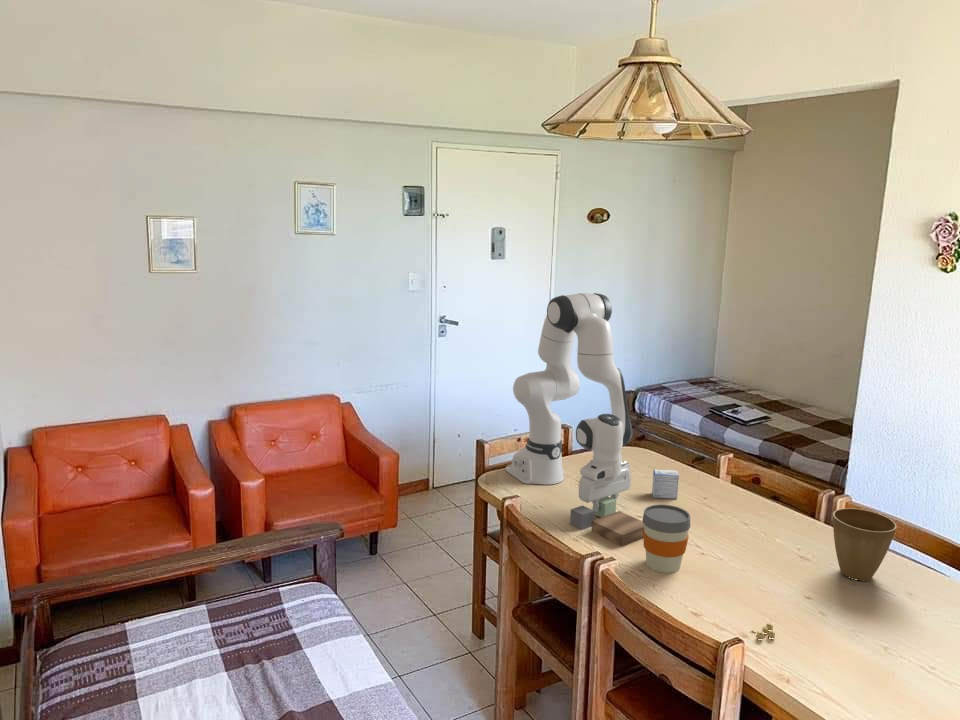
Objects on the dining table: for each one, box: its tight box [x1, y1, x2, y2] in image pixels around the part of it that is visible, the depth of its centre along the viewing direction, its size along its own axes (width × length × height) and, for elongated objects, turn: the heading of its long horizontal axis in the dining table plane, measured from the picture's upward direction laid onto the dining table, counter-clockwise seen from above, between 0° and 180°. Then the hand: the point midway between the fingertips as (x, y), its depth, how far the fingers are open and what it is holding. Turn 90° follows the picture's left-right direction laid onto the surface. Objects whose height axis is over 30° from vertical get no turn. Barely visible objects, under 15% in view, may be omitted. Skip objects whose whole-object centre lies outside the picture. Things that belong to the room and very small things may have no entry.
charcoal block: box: [569, 505, 595, 531], centre depth 224 cm, size 5×5×5 cm
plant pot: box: [832, 507, 898, 581], centre depth 196 cm, size 15×15×16 cm
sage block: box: [592, 496, 617, 518], centre depth 232 cm, size 5×5×5 cm
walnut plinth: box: [590, 510, 644, 548], centre depth 219 cm, size 12×12×4 cm
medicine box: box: [651, 469, 680, 500], centre depth 247 cm, size 8×4×9 cm, turn 84°
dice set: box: [753, 623, 776, 640], centre depth 169 cm, size 5×5×2 cm
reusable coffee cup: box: [642, 504, 691, 574], centre depth 199 cm, size 12×13×15 cm
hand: (604, 508), depth 232 cm, fingers closed on sage block, 5 cm apart
